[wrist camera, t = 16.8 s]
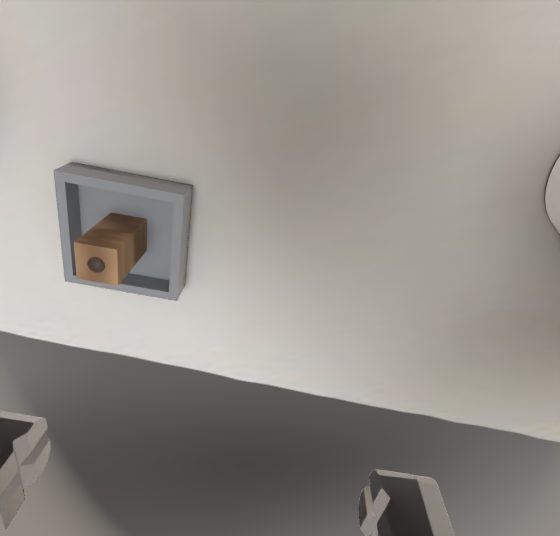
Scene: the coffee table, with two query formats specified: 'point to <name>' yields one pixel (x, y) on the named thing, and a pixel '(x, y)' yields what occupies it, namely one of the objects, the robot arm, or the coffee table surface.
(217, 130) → the coffee table surface
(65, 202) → the tray
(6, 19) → the coffee table surface
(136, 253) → the walnut block
